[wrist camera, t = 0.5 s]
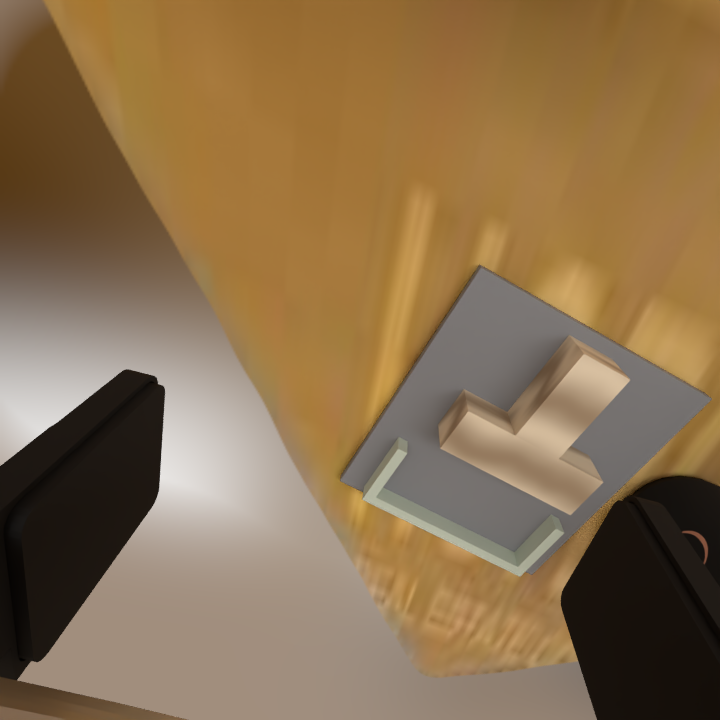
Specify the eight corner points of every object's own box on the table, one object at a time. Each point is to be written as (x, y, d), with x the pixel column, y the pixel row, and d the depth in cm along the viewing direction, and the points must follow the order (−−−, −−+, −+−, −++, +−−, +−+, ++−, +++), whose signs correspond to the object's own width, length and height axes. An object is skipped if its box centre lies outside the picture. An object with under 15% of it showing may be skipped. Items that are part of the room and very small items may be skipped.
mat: (479, 264, 41) (484, 273, 38) (705, 393, 44) (725, 410, 41) (341, 474, 52) (337, 493, 49) (529, 567, 54) (535, 590, 52)
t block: (522, 308, 41) (533, 325, 37) (656, 384, 43) (678, 406, 39) (438, 424, 47) (440, 448, 43) (558, 486, 48) (570, 515, 45)
